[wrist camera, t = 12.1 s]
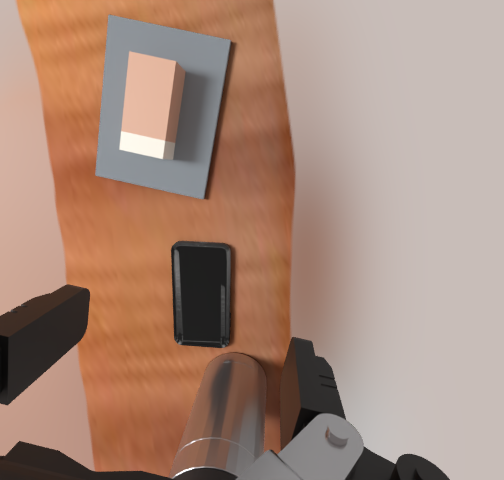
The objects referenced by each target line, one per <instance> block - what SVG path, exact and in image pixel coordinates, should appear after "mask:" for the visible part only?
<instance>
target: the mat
mask: <svg viewBox="0 0 504 480" xmlns="http://www.w3.org/2000/svg"><path fill="white" fill-rule="evenodd" d="M230 47H231V40H228V39H223V38H218V37H213V36H209V35H204V34H199V33H194V32H189V31H185V30H180V29H175V28H170V27H165V26H161V25H156V24H151V23H146V22H141V21H137V20H132V19H127V18H122V17H117V16H113V15H109V16H108V28H107V41H106V53H105V65H104V77H103V89H102V101H101V113H100V126H99V138H98V150H97V162H96V174H95V175H96V176H100V177H105V178H109V179H114V180H118V181H123V182H127V183H132V184H136V185H141V186H145V187H150V188H154V189H159V190H163V191H168V192H172V193H177V194H181V195H186V196H190V197H195V198H199V199H204V198H205V192H206V186H207V181H208V175H209V169H210V163H211V157H212V152H213V146H214V140H215V134H216V128H217V122H218V117H219V111H220V105H221V99H222V93H223V88H224V82H225V76H226V70H227V64H228V59H229V53H230ZM129 51H131V52H135V53H140V54H145V55H149V56H154V57H159V58H163V59H168V60H173V61H176V62H177V63H178V64H179V65H180V66H181V67H182V68H183V69H184V70H185V71H186V73H185V80H184V86H183V93H182V100H181V107H180V114H179V121H178V128H177V135H176V142H175V149H174V156H173V160H168V159H160V158H155V157H151V156H146V155H142V154H137V153H133V152H128V151H124V150H119V148H120V138H121V128H122V118H123V108H124V98H125V88H126V78H127V68H128V58H129Z"/></svg>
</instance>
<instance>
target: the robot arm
mask: <svg viewBox="0 0 504 480" xmlns="http://www.w3.org/2000/svg"><path fill="white" fill-rule="evenodd" d="M89 301H90V292H89V290H88V289H86V288H82V287H78V286H73V285H65V286H63V287H61V288H60V289H58V290H56V291H54V292H53V293H51V294H50V293H49V294H46V295H42V296H39V297H35V298H33V299H31V300H29V301H27V302H25V303H23V304H22V305H21V306H18V307H16V308H14V309H13V310H11V312H7V313H5V314H3V315H1V316H0V403H1V404H5V405H8V404H10V403H11V402H12V401H13V400H14V399H15V398H16V397H17V396H19V395H20V394H21V393H22V392H23V391H24V390H25V389H26V388H28V386H30V385H31V384H32V383H33V382H34V381H35V380H37V379H38V378H39V377H40V376H41V375H42V374H43V373H44V372H46V371H47V370H48V369H49V368H50V367H51V366H52V365H53V364H54V363H56V362H57V361H58V360H59V359H60V358H61V357H62V356H63V355H65V354H66V353H67V352H68V351H69V350H70V349H71V348H72V347H73V346H74V345H76V344H77V343H78V342H79V341H80V340H81V339H82V337H83V336H84V334H85V332H86V329H87V324H88V312H89ZM334 379H335V378H334V374H333V371H332V368H331V366H330V365H329V364H328V363H327V361H326V360H325V359H324V358H322V357H318V356H315V353H314V348H313V343H312V341H309V340H304V339H300V338H296V337H292V339H291V341H290V345H289V349H288V352H287V356H286V360H285V363H284V367H283V371H282V375H281V381H280V433H281V452H280V453H278V454H276V453H275V452H274V451H273V450H268V451H266V452H265V453H264V433H265V410H266V387H267V379H266V374H265V372H264V370H263V368H262V367H261V366H260V364H259V363H258V362H257V361H255V360H254V359H253V358H251V357H249V356H247V355H244V354H240V353H227V354H223V355H220V356H218V357H216V358H215V359H213V360H212V361H211V362H210V363H209V365H208V366H207V368H206V370H205V373H204V376H203V378H202V381H201V384H200V387H199V390H198V393H197V395H196V398H195V401H194V404H193V407H192V410H191V413H190V416H189V419H188V422H187V424H186V427H185V430H184V433H183V436H182V439H181V442H180V445H179V448H178V451H177V454H176V456H175V459H174V462H173V466H172V468H171V471H170V474H169V477H164V476H160V475H156V474H151V473H147V472H143V471H114V472H95V471H91V470H89V469H88V468H86V467H84V466H83V465H81V464H79V463H78V462H76V461H74V460H73V459H71V458H70V457H68V456H66V455H65V454H63V453H61V452H60V451H58V450H54V449H49V448H45V447H41V446H37V445H33V444H29V443H25V442H21V441H19V442H18V443H17V444H16V445H15V446H14V447H13V448H12V449H11V450H10V451H9V453H8V454H7V455H6V456H0V480H450V479H449V478H448V477H447V476H446V475H445V474H444V473H443V472H442V471H441V470H440V469H439V468H438V467H437V466H436V465H434V464H433V463H431V462H430V461H428V460H426V459H424V458H422V457H420V456H417V455H413V454H404V455H402V456H400V457H399V458H398V460H397V462H396V464H394V463H392V462H390V461H389V460H387V459H385V458H383V457H381V456H379V455H377V454H375V453H373V452H371V451H370V450H368V449H367V448H366V447H364V446H363V440H362V438H361V436H360V434H359V432H358V431H357V430H356V429H355V427H354V426H353V425H352V424H350V423H349V422H348V421H346V418H345V414H344V410H343V407H342V403H341V400H340V396H339V392H338V390H337V385H336V382H335V380H334Z"/></svg>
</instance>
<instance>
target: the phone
mask: <svg viewBox="0 0 504 480" xmlns="http://www.w3.org/2000/svg"><path fill="white" fill-rule="evenodd" d="M171 258H172V287H173V316H174V339H175V341H176V342H177V343H178V344H180V345H187V346H201V347H215V348H224V347H226V346H227V345H228V343H229V339H230V321H231V320H230V319H231V313H230V282H231V249H230V247H229V246H228V245H227V244H225V243H215V242H194V241H178V242H176V243H175V244H174V245H173V246H172V248H171Z"/></svg>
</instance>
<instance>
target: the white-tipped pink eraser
mask: <svg viewBox="0 0 504 480" xmlns="http://www.w3.org/2000/svg"><path fill="white" fill-rule="evenodd" d="M185 73H186V71H185V70H184V69H183V68H182V67H181V66H180V65H179V64H178V63H177V62H176V61H173V60H168V59H163V58H159V57H154V56H149V55H145V54H140V53H135V52H131V51H129V58H128V68H127V78H126V88H125V98H124V108H123V118H122V128H121V138H120V148H119V150H124V151H128V152H133V153H137V154H142V155H146V156H151V157H155V158H160V159H168V160H173V156H174V149H175V142H176V135H177V128H178V121H179V114H180V107H181V100H182V93H183V86H184V80H185Z"/></svg>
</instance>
